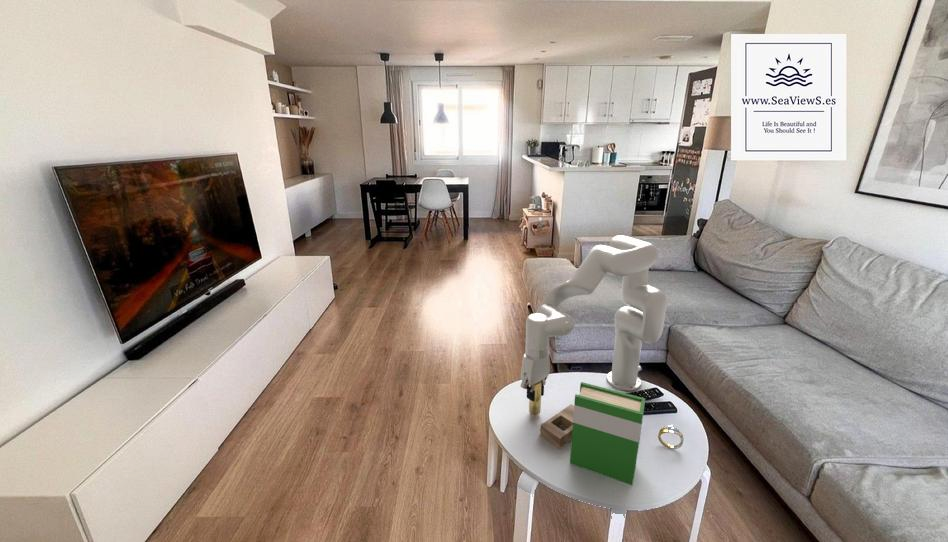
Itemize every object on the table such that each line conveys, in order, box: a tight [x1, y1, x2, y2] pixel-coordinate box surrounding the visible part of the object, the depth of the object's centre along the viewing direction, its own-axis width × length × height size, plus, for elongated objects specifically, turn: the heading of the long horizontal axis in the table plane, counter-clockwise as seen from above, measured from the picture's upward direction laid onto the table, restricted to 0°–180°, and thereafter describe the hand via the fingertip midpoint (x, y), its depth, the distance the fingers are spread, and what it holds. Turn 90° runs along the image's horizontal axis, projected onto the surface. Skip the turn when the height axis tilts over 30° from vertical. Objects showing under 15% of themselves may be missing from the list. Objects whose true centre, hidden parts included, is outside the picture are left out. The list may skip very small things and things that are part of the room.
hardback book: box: [569, 381, 646, 486], centre depth 114 cm, size 18×7×24 cm, turn 63°
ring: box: [657, 424, 685, 450], centre depth 123 cm, size 7×3×8 cm, turn 57°
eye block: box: [539, 404, 574, 450], centre depth 132 cm, size 16×8×4 cm, turn 130°
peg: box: [528, 381, 542, 416], centre depth 137 cm, size 4×4×12 cm
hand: (535, 396), depth 137 cm, fingers closed on peg, 3 cm apart
